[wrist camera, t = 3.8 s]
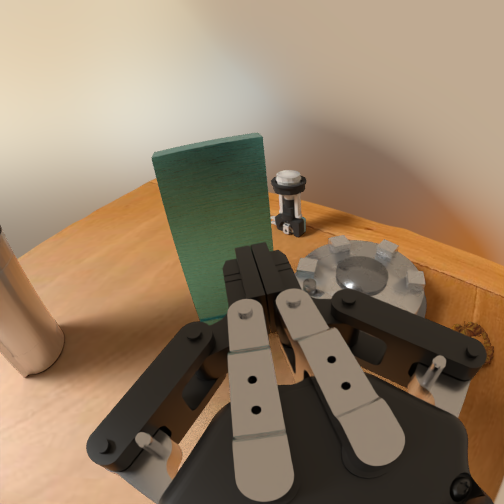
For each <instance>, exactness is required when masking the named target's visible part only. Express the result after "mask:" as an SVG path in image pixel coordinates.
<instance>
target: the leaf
mask: <svg viewBox="0 0 504 504" xmlns="http://www.w3.org/2000/svg"><path fill="white" fill-rule="evenodd" d="M452 330H455V331H457V332H459V333H462V334H464V335H467V336H469V337H471V336H481V335H479V334H482V335H483V338H484V340H485V341H484V347H485V349H486V353H487V358H486V361H485V363H484V364H487V363H489V364H490V361H491V359H492V358H493V357H492V355H493V352H494V350H493V349H494V347H493V346H491V343H490V340H489V338H488V334H487V333H486V332H485V331H484V329H483V328H482V327H481V326H480V325H478V324H477V323H473V322H468V324H467V325H466V326H465V322H464V327H462V326H461V325H460V324H454V326H453V327H452ZM484 364H483V365H484Z"/></svg>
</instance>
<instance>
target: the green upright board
mask: <svg viewBox="0 0 504 504" xmlns="http://www.w3.org/2000/svg"><path fill="white" fill-rule="evenodd" d="M152 162H153V166H154V170H155V174H156V178H157V182H158V186H159V190H160V193H161V197H162V201H163V205H164V208H165V212H166V215H167V219H168V222H169V226H170V229H171V233H172V236H173V240H174V243H175V246H176V250H177V253H178V256H179V259H180V262H181V266H182V269H183V272H184V275H185V278H186V281H187V284H188V287H189V290H190V293H191V296H192V299H193V302H194V305H195V308H196V311H197V314H198V316H199V319H200V322H204V323H206V324H208V325H209V326H210V325H212V324H214V323H216V322H218V321H220V320H221V319H222V318H224V317H225V315H226V314H227V312H228V308H229V306H228V299H227V294H226V288H225V281H224V275H223V269H222V268H223V266H224V264H225V261H227V260H232V259H236V254H235V249H234V248H238V247H243V246H248V245H249V246H250V245H253V244H258V243H263V242H266V244H267V246H268V249H269V251H270V252H271V251H273V241H272V229H271V218H270V207H269V197H268V187H267V176H266V166H265V156H264V146H263V137H262V136H261V135H260V134H259V133H251V134H245V135H238V136H232V137H226V138H220V139H215V140H210V141H205V142H199V143H194V144H189V145H184V146H180V147H175V148H171V149H166V150H163V151H158V152H154V154H153V156H152ZM398 247H399V246H398V245H396V244H394V243H392V242H389V241H387V240H385V239H384V240H383V241H382V242H381V243H380V244H377V243H373V242H367V241H357V240H349V241H348V239H347V238H346V237H345V236H344V235H341V236H337V237H332V238H328V244H327V245H324V246H322V247H320V248H317V249H316V250H314V251H312V252H311V253H310V254H308V255H307V256H306V257H305V258H300V261H299V264H298V267H297V273H296V278H297V280H298V282H299V284H300V286H301V289H302V290H303V291H305V292H307V293H308V294H309V296H310V297H313V298H317V299H332V296H333V295H334V294H335V293H336V292H337V291H339V290H342V289H354V290H357V291H359V292H362V293H364V294H366V295H369V296H371V297H374V298H376V299H379V300H381V301H384V302H386V303H389V304H391V305H393V306H396V307H398V308H401V309H403V310H406V311H408V312H411V313H413V314H416V315H417V313H418V311H419V308H420V305H421V303H422V300H423V296H424V287H425V279H424V273H423V271H418V270H417V268H416V267H415V266H414V264H413V263H412V262H411V261H410V260H409V259H407V258H406V257H405V256H404V255H402V254H401V253H399V252H398ZM250 248H251V247H250ZM360 331H361V330H360ZM369 335H370V334H369ZM371 336H372V335H371ZM378 339H379V338H378ZM380 340H381V339H380Z"/></svg>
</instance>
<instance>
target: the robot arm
mask: <svg viewBox="0 0 504 504" xmlns="http://www.w3.org/2000/svg"><path fill="white" fill-rule="evenodd" d="M250 247H251V248H250ZM234 249H235V254H236V259H232V260H227V261H225V264H224V266H223V268H222V269H223V275H224V281H225V288H226V294H227V299H228V306H229V308H228V312H227V314H226V315H225V317H224V318H222V319H221V320H220V321H218V322H216V323H214V324H212V325H210V326H209V325H208V324H206V323H204V322H192V323H189V324H187V325H185V326H184V327H182V328H181V329H180V331H179V332H178V333H177V334H176V335H175V336H174V338H173V339H172V340H171V341H170V342H169V343H168V345H167V346H166V347H165V348H164V349H163V350H162V352H161V353H160V354H159V355H158V356H157V358H156V359H155V360H154V361H153V362H152V363H151V365H150V366H149V367H148V368H147V369H146V370H145V372H144V373H143V374H142V375H141V376H140V378H139V379H138V380H137V381H136V382H135V383H134V385H133V386H132V387H131V388H130V389H129V390H128V392H127V393H126V394H125V395H124V396H123V398H122V399H121V400H120V401H119V402H118V403H117V405H116V406H115V407H114V408H113V409H112V411H111V412H110V413H109V414H108V415H107V416H106V418H105V419H104V420H103V421H102V422H101V424H100V425H99V426H98V427H97V428H96V429H95V431H94V432H93V433H92V434H91V435H90V437H89V439H88V441H87V445H86V449H87V453H88V456H89V457H90V459H91V460H92V461H93V462H95V463H96V464H98V465H100V466H102V467H104V468H105V469H106V470H108V471H110V472H112V473H114V474H116V475H118V476H120V477H122V478H123V479H124V480H126V481H127V482H128V483H129V484H131V485H132V486H133V487H134V488H136V489H137V490H138V491H140V492H141V493H142V494H144V495H145V496H146V497H148V498H149V499H151V500H152V501H153V502H155V503H156V504H494V503H493V502H492V500H491V498H490V497H489V496H488V495H487V494H486V493H485V492H484V491H483V490H482V489H481V488H480V487H479V486H478V485H477V484H476V482H475V481H474V480H473V478H472V477H471V474H470V471H469V466H468V436H467V432H466V429H465V427H464V425H463V423H462V422H461V421H460V420H459V419H458V417H459V414H460V411H461V408H462V406H463V403H464V400H465V397H466V393H467V390H468V387H469V384H470V381H471V380H472V379H473V377H474V376H475V375H476V373H477V372H478V371H479V370H480V368H481V367H482V366H483V364H484V363H485V361H486V358H487V353H486V349H485V347H484V346H483V344H482V343H481V342H480V341H478V340H476V339H474V338H472V337H469V336H467V335H464V334H462V333H459V332H457V331H455V330H452V329H450V328H447V327H445V326H442V325H440V324H437V323H435V322H433V321H430V320H428V319H425V318H423V317H420V316H418V315H416V314H413V313H411V312H408V311H406V310H403V309H401V308H398V307H396V306H393V305H391V304H389V303H386V302H384V301H381V300H379V299H376V298H374V297H371V296H369V295H366V294H364V293H362V292H359V291H357V290H354V289H342V290H339V291H337V292H336V293H335V294H334V295H333V296H332V299H317V298H313V297H310V296H309V294H308V293H307V292H305V291H303V290H302V289H301V286H300V284H299V282H298V280H297V278H296V276H295V274H294V272H293V270H292V267H291V265H290V263H289V261H288V259H287V257H286V255H285V254H283V253H282V252H281V251H279V250H276V251H271V252H270V251H269V249H268V246H267V244H266V242H263V243H258V244H253V245H250V246H249V245H248V246H243V247H238V248H234ZM269 325H270V327H269ZM270 329H271V332H272V333H273V332H278V335H279V340H280V347H281V349H282V352H283V354H284V356H285V359H286V361H287V363H288V366H289V368H290V370H291V373H292V375H293V377H294V380H295V384H293V385H277V381H276V376H275V370H274V365H273V359H272V354H271V349H270V346H269V338H268V334H269V333H270ZM360 330H361V331H360ZM369 334H370V335H369ZM371 335H372V336H371ZM378 338H379V339H378ZM380 339H381V340H380ZM63 345H64V334H63V331H62V330H61V328H60V327H59V326H58V324H57V322H56V321H55V319H54V318H53V317H52V316H51V314H50V313H49V311H48V310H47V308H46V307H45V305H44V304H43V302H42V301H41V299H40V297H39V296H38V294H37V293H36V291H35V289H34V288H33V286H32V285H31V283H30V281H29V279H28V278H27V276H26V274H25V273H24V271H23V269H22V267H21V265H20V264H19V262H18V260H17V258H16V256H15V255H14V252H13V251H12V249H11V247H10V245H9V243H8V241H7V238H6V237H5V234H4V232H3V230H2V229H1V226H0V353H1V354H2V355H3V356H4V357H5V358H6V359H7V360H8V361H9V362H10V364H11V365H12V366H13V367H14V368H15V369H16V370H17V371H18V372H19V373H20V374H21V375H22V376H23V377H26V376H27V375H29V374H36V373H40V372H42V371H44V370H46V369H47V368H48V367H50V366H51V365H52V364H53V363H54V362H55V361H56V359H57V358H58V356H59V355H60V353H61V351H62V348H63ZM360 366H361V367H363V368H365V369H367V370H369V371H372V372H374V373H376V374H378V375H380V376H382V377H384V378H386V379H389V380H391V381H393V382H395V383H397V384H399V385H402V386H404V387H406V388H408V393H407V392H405V391H403V390H401V389H399V388H397V387H395V386H393V385H392V384H390V383H388V382H386V381H384V380H382V379H380V378H378V377H376V376H374V375H371V374H369V373H365V372H363V370H362V369H361V367H360ZM228 372H229V387H230V401H231V402H230V403H228V404H227V405H225V406H224V407H223V408H222V409H221V410H220V411H218V413H217V414H216V415H215V416H214V418H213V419H212V421H211V422H210V424H209V425H208V427H207V429H206V430H205V432H204V433H203V435H202V436H201V438H200V439H199V441H198V443H197V444H196V446H195V447H194V449H193V450H192V452H191V453H190V455H189V456H188V458H187V459H186V461H185V462H184V464H183V465H182V467H181V468H180V470H179V471H178V467H179V465H180V463H181V460H182V450H181V448H180V446H179V445H178V444H179V443H180V441H181V440H182V438H183V437H184V436H185V434H186V433H187V432H188V430H189V429H190V427H191V426H192V425H193V423H194V422H195V421H196V419H197V418H198V416H199V415H200V413H201V412H202V411H203V409H204V408H205V406H206V405H207V404H208V402H209V401H210V399H211V398H212V396H213V395H214V393H215V392H216V391H217V389H218V388H219V386H220V385H221V383H222V382H223V380H224V379H225V377H226V373H228ZM177 471H178V473H177Z"/></svg>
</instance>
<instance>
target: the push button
mask: <svg viewBox="0 0 504 504" xmlns="http://www.w3.org/2000/svg"><path fill="white" fill-rule="evenodd" d="M271 184H272V186H273V189H274V191H275V193H277V194H279V202H280V210H279V213H280V214H278V215H277V216H276V217H275V216H272V217H270V218H271V219H274V220H275V221H272V222H271V223H273V222H275V223H273V224H275V225H277V228H278V229H279V230H282V231H283V232H284V233H286V234H289V233H291V234H294V236H296V237H299V236H301V235H302V234H303V233H304V232H305V231H306V219H305V218H304V217H302V214H301V197H300V194H301V192H303V191H304V190H305V184H306V179H305V177H303V176H301V175H300V173H299V172H297V171H294V170H286V171H281V172H279V173H277V176H276V177H274V178H273V179H272V180H271ZM273 217H275V218H273Z"/></svg>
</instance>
